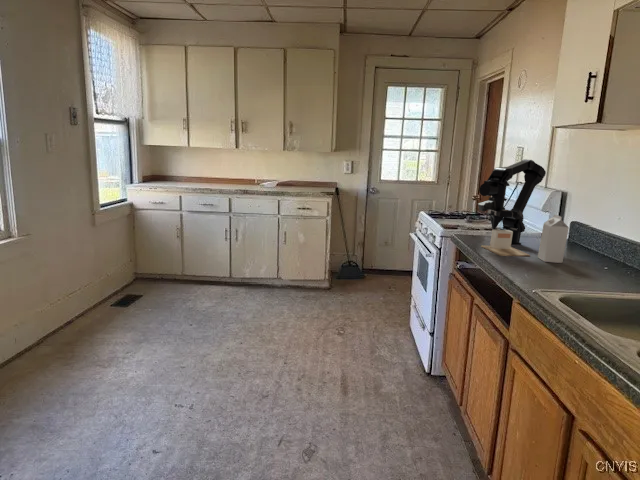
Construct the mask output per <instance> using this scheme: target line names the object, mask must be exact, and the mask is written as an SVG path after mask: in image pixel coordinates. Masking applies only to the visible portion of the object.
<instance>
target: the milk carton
mask: <svg viewBox="0 0 640 480" xmlns="http://www.w3.org/2000/svg"><path fill="white" fill-rule="evenodd" d="M562 218H563V217H562V216H561V215H559V214H558V215H557V214H555V213H554V214H553V216H552V217H550V218H548V220H547V221H544V223H543V224H542V232H541V235H540V236H541V237H540V243H539V249H538V253H537V258H538V259H540V260H541V261H542V262H546V263H556V264H557V263H558V264H563V261H564V255H565V251H566V245H567V244H566V243H567V240H568V233H569V229H570V227H569V226H568V225H567V224H566V223H565V222H564V221H563V219H562Z"/></svg>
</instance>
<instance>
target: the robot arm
mask: <svg viewBox="0 0 640 480" xmlns="http://www.w3.org/2000/svg"><path fill="white" fill-rule="evenodd" d="M521 172H522V173H524V174H523V175H524V176H523V178H524V183H523V186H522V187H521V190H520V192H519V194H518V195H517V198H516V200H515V202H514V205H513V207H511V209H510V210H509V209H506V207H505V206H504V205H505V202H506V201H507V198H506V192H507V187H509V186H510V183H509V182H508V181H509V180H512V178H513V176H515V175H517V174H520V173H521ZM546 174H547V172H546V170H545V168H544V167H543V166H541V165H540V164H538V163H537V162H535V160H532V159H522V160H520V161H519V162H516V163H513V164H511V165H508V166H499V167H495V168H494V169H493V171H492V172H491V174H490V175H489V177H488V178H487V180H484V181H483V183H482V184H481V185H480V186H479V189H478V192H479V194H480V195H481V196H483V197H488V200H485V201H483V202H479V203H478V202H477V206H478V210H479V211H481V212H486V215H488V217H489V219H490V224H491V229H492V230H496V228H497V227H498V226H499V225H500V223H501V222H502V230H510V231H513V236H512V242H511V245H522V243H521V242H520V240H521V234H522V233H523V232H525V230H526V226H525V224H524V219H525V218H524V214H523V213H524V211H525V209H526V206H527V204H528V202H529V201H530V198H531V196H532V194H533V192H534V190H535V188H536V186H538V185H539V184H540V183H542V181H543V180H544V178H545V176H546Z"/></svg>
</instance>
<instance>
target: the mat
mask: <svg viewBox="0 0 640 480" xmlns="http://www.w3.org/2000/svg"><path fill="white" fill-rule="evenodd" d="M480 247H481V248H482V249H485V250H487V251H489V252H491V253H493V254H495V255H497V256H499V257H503V256H504V257H531V254H529V253H526V252H524V251H521V250H520V249H517V248H514V247H512V246H511V248H510V249H494V248H491V247H490V245H485V244H484V245H481V246H480Z"/></svg>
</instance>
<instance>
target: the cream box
mask: <svg viewBox="0 0 640 480" xmlns="http://www.w3.org/2000/svg"><path fill="white" fill-rule="evenodd" d="M512 236H513V231H510V230H506V229H492V230H491V236H490V242H489V243H490V244H489V246H490V247H491V248H494V249H510V248H511V247H512V244H511V242H512Z"/></svg>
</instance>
